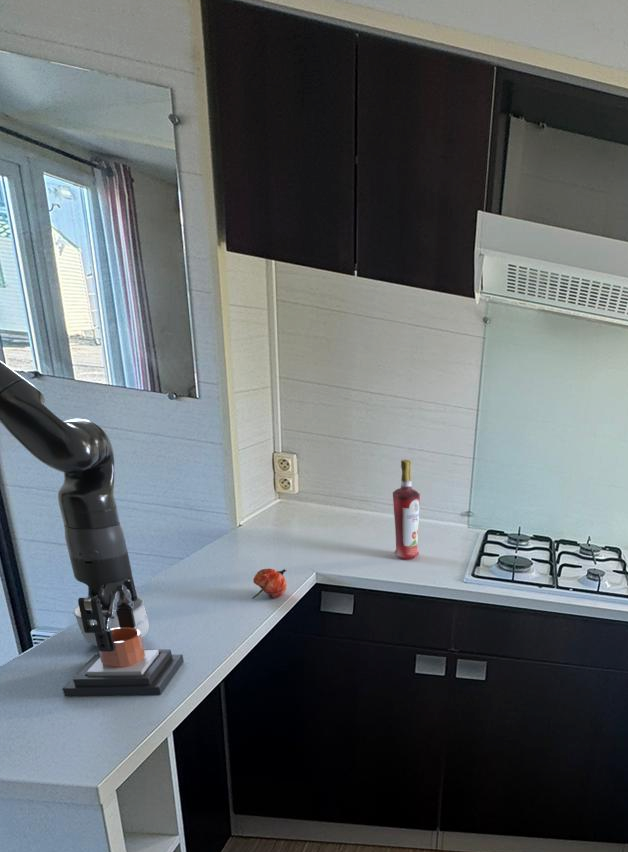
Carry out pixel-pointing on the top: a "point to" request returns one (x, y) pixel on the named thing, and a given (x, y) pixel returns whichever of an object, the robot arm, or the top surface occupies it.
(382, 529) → the top surface
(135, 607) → the teacup
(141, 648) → the orange cup
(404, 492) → the liquor
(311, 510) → the top surface
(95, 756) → the top surface
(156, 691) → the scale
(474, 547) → the top surface
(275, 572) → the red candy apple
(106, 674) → the pale square tile
